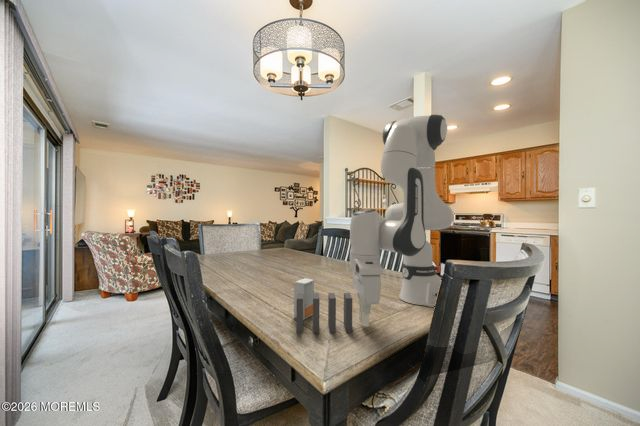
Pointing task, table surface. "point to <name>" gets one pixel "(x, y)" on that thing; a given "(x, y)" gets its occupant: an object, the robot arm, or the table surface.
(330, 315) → the domino
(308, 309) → the skincare box
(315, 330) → the domino
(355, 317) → the table surface
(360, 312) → the domino
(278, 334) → the table surface
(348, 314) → the domino
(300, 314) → the domino
